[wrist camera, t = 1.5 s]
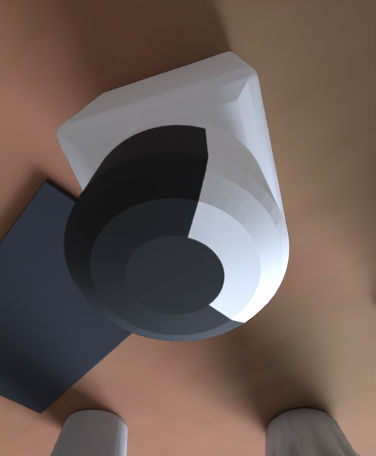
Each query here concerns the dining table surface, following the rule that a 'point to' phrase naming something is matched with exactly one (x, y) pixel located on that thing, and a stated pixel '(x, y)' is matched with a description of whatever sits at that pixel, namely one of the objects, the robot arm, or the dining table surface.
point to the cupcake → (306, 435)
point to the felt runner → (45, 308)
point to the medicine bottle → (176, 202)
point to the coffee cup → (92, 435)
